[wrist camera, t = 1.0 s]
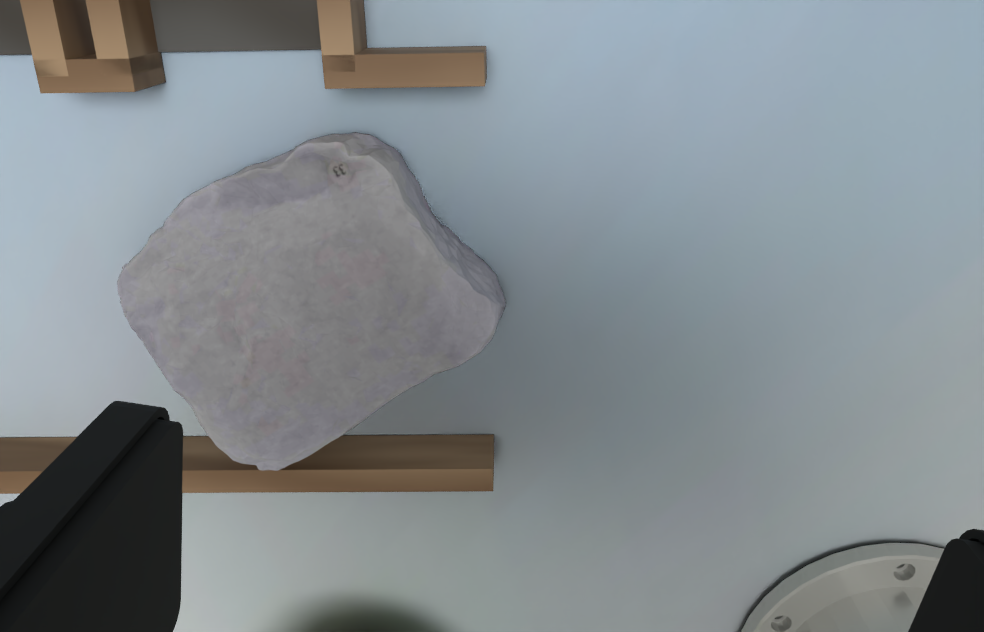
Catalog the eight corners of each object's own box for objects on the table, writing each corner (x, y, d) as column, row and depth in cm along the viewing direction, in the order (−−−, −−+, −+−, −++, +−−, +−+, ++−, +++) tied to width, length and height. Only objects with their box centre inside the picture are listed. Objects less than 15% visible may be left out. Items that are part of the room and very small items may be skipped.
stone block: (139, 256, 33) (283, 459, 34) (65, 275, 28) (236, 509, 29) (378, 85, 30) (524, 309, 31) (342, 74, 26) (515, 337, 27)
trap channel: (494, 455, 33) (492, 515, 30) (-176, 459, 34) (-259, 518, 30) (483, -105, 26) (479, -119, 22) (-388, -87, 26) (-535, -97, 23)
